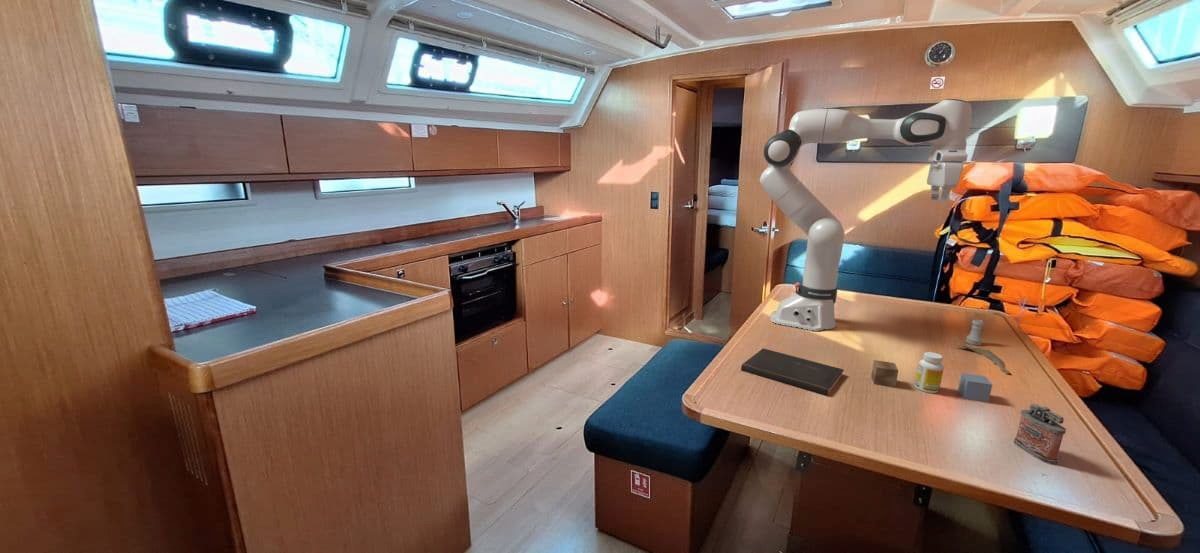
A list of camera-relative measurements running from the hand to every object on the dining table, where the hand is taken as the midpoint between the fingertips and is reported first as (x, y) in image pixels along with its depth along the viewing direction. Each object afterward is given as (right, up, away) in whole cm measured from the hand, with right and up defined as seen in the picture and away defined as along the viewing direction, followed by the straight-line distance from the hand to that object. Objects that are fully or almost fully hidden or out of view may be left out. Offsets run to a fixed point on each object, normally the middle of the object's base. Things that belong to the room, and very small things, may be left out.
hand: (937, 201), depth 147 cm
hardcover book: (-52, -51, -15) cm, 75 cm away
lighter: (-16, -60, -50) cm, 80 cm away
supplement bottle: (-20, -53, -24) cm, 62 cm away
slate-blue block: (-11, -54, -27) cm, 62 cm away
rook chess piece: (+17, -46, +8) cm, 50 cm away
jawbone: (+9, -50, -5) cm, 51 cm away
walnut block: (-29, -52, -20) cm, 63 cm away
